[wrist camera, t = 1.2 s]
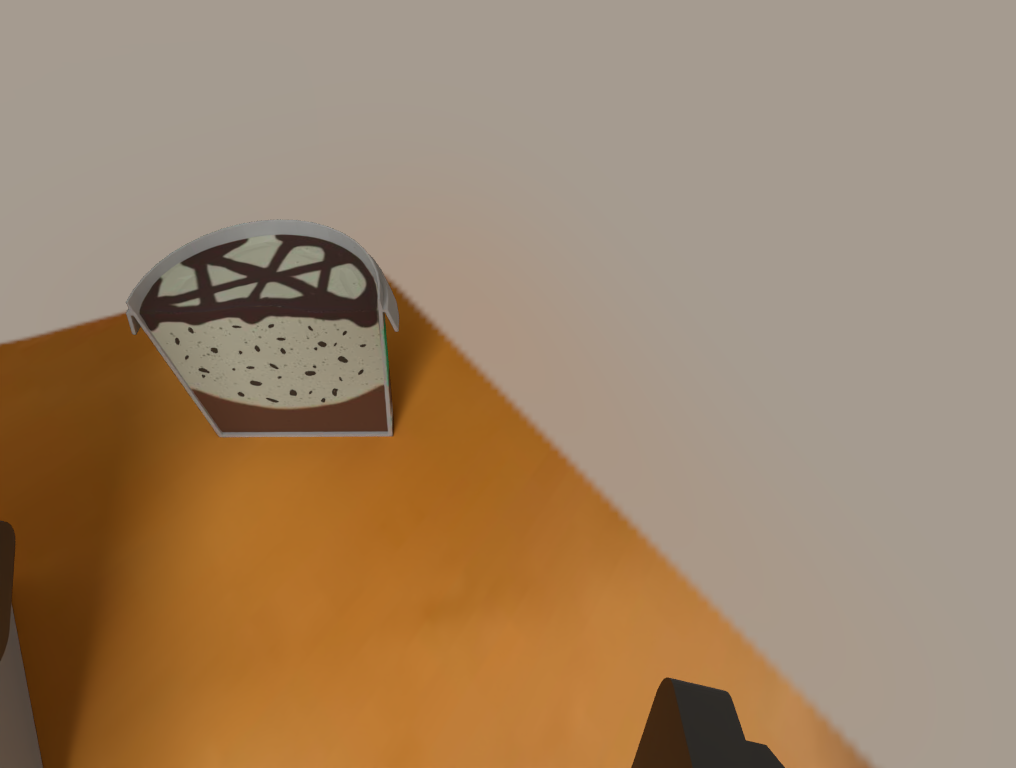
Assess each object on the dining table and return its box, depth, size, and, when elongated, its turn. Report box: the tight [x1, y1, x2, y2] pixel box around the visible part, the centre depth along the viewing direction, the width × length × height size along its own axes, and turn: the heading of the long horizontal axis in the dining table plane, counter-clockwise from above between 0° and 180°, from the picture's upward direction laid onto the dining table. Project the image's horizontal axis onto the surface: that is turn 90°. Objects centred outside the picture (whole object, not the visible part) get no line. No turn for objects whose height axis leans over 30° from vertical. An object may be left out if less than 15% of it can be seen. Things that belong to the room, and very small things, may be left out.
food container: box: [126, 220, 399, 437], centre depth 41 cm, size 12×6×10 cm, turn 88°
